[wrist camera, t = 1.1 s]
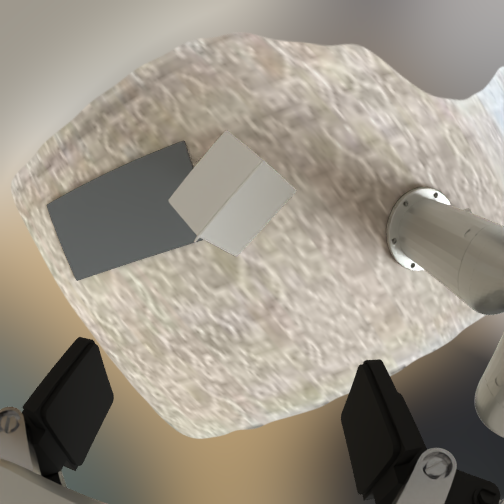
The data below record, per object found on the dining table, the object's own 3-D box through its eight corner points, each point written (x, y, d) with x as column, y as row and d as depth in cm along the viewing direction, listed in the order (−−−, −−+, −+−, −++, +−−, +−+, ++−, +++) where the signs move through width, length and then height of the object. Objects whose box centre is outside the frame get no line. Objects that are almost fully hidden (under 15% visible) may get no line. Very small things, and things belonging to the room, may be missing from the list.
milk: (207, 177, 36) (148, 209, 15) (239, 141, 35) (218, 121, 14) (244, 208, 38) (232, 278, 17) (275, 172, 36) (306, 197, 15)
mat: (184, 140, 35) (183, 140, 34) (215, 234, 39) (215, 236, 38) (48, 204, 37) (46, 205, 36) (78, 279, 41) (76, 280, 40)
